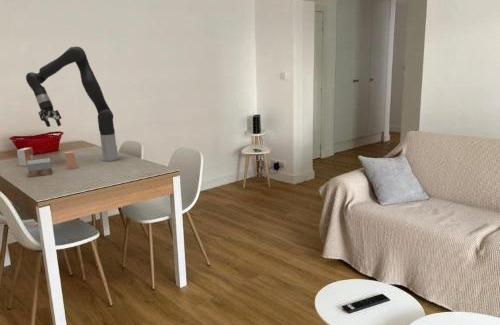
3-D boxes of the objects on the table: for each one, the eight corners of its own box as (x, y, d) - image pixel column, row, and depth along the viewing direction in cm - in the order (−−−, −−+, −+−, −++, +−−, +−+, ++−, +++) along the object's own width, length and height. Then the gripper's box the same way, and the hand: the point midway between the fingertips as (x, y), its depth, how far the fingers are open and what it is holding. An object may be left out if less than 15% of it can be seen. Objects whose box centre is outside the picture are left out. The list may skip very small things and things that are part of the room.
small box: (26, 166, 271) (23, 150, 269) (18, 165, 272) (16, 149, 270) (35, 163, 279) (32, 147, 277) (27, 163, 280) (25, 147, 278)
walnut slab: (51, 170, 258) (50, 164, 257) (52, 175, 248) (51, 168, 247) (29, 173, 253) (28, 167, 252) (29, 178, 242) (28, 171, 242)
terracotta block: (75, 166, 265) (73, 151, 263) (75, 168, 261) (73, 152, 258) (66, 167, 263) (64, 152, 261) (67, 169, 259) (64, 153, 256)
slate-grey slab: (50, 164, 257) (49, 158, 256) (51, 168, 247) (50, 161, 246) (28, 167, 252) (27, 160, 251) (28, 171, 242) (27, 164, 241)
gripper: (39, 100, 258) (49, 124, 258) (57, 100, 271) (67, 123, 271) (31, 105, 261) (41, 129, 261) (49, 104, 274) (59, 127, 274)
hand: (54, 126), depth 266 cm, fingers open, 8 cm apart
